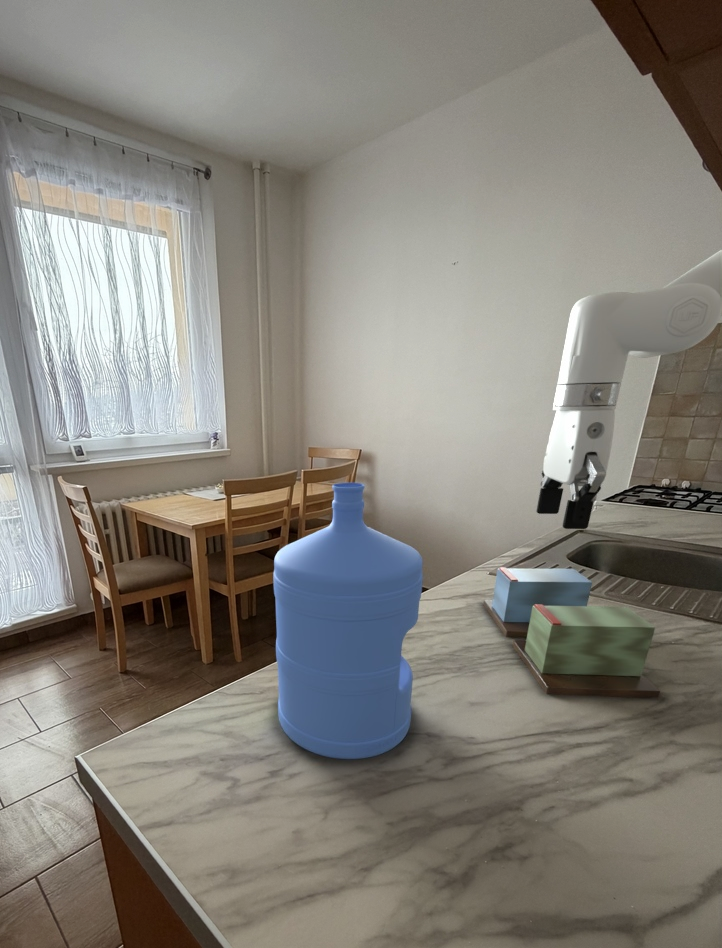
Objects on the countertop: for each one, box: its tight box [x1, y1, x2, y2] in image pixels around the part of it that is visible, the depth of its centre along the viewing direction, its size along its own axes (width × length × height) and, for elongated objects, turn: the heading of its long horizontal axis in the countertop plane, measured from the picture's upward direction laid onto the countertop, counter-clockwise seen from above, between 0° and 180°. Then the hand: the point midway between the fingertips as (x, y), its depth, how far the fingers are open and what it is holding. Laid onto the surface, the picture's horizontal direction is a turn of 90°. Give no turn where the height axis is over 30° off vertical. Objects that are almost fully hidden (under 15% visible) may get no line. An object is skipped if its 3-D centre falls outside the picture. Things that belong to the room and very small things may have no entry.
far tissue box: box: [492, 566, 593, 622], centre depth 79 cm, size 12×6×7 cm, turn 83°
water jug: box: [272, 482, 424, 760], centre depth 53 cm, size 16×16×28 cm
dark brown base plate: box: [482, 599, 530, 638], centre depth 81 cm, size 13×13×2 cm
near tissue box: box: [525, 604, 656, 676], centre depth 64 cm, size 12×6×7 cm, turn 83°
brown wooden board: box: [512, 639, 661, 699], centre depth 66 cm, size 13×13×2 cm
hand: (559, 520), depth 73 cm, fingers open, 9 cm apart
